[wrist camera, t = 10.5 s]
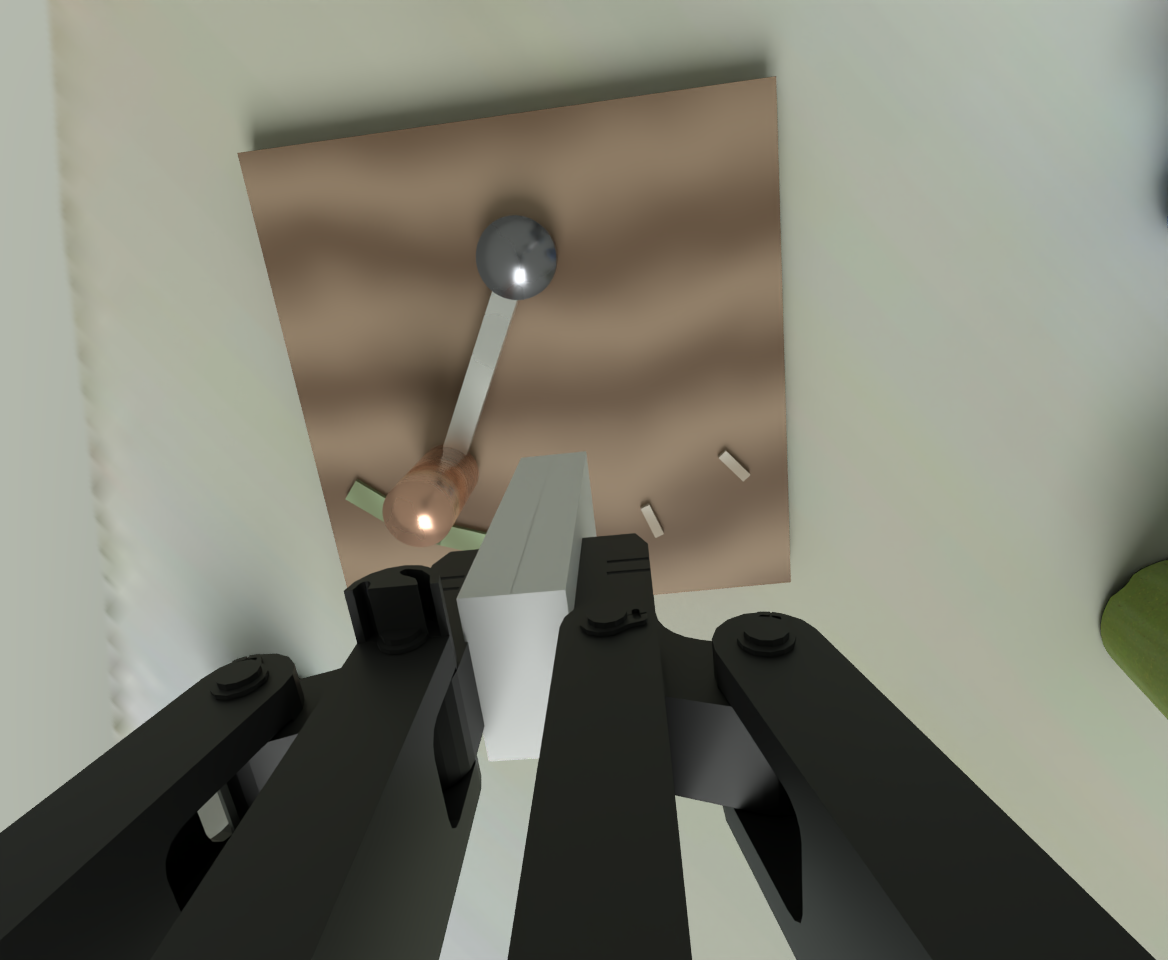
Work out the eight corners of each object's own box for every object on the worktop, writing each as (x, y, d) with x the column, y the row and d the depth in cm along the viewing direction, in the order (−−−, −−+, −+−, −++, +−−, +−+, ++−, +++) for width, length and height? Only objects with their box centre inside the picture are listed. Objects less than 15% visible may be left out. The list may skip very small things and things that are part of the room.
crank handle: (493, 204, 30) (466, 190, 24) (568, 234, 30) (559, 226, 25) (405, 494, 34) (364, 541, 29) (471, 518, 35) (444, 568, 29)
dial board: (254, 157, 32) (233, 152, 30) (767, 85, 30) (777, 74, 28) (365, 609, 39) (354, 625, 37) (783, 569, 37) (792, 584, 36)
